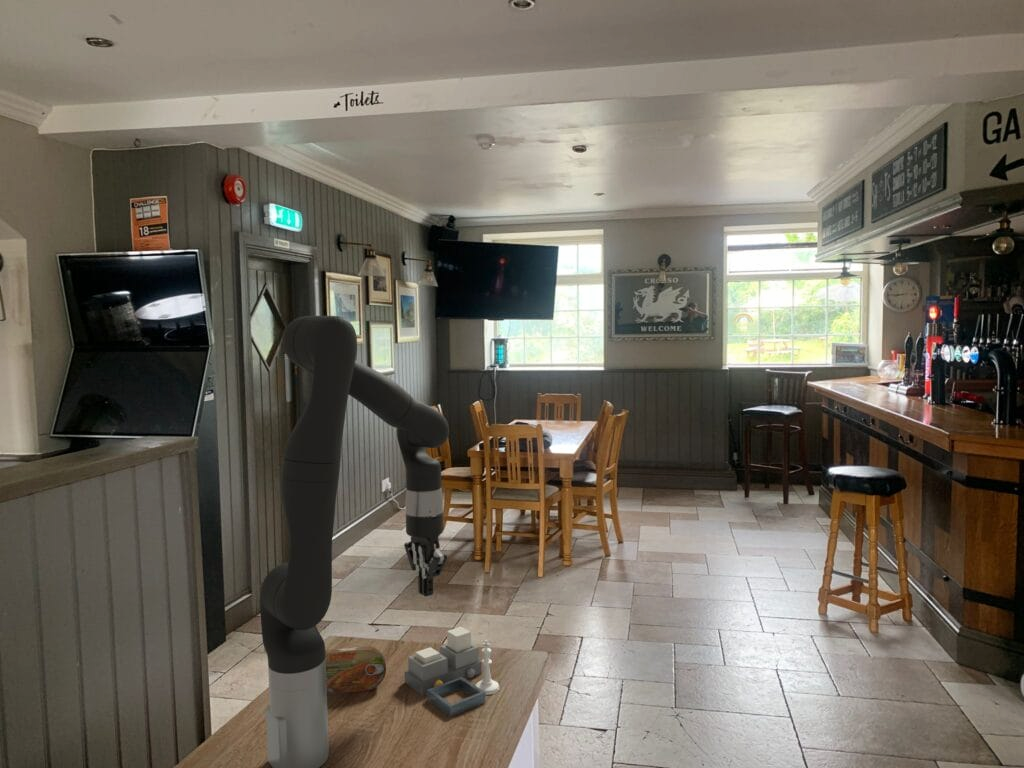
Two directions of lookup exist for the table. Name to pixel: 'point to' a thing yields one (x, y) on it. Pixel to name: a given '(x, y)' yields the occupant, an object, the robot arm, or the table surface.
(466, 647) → the breaker
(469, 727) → the table surface
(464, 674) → the yellow-knobbed grey box
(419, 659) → the white square block
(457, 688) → the frame
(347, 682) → the tin
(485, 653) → the chess piece
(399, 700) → the table surface
